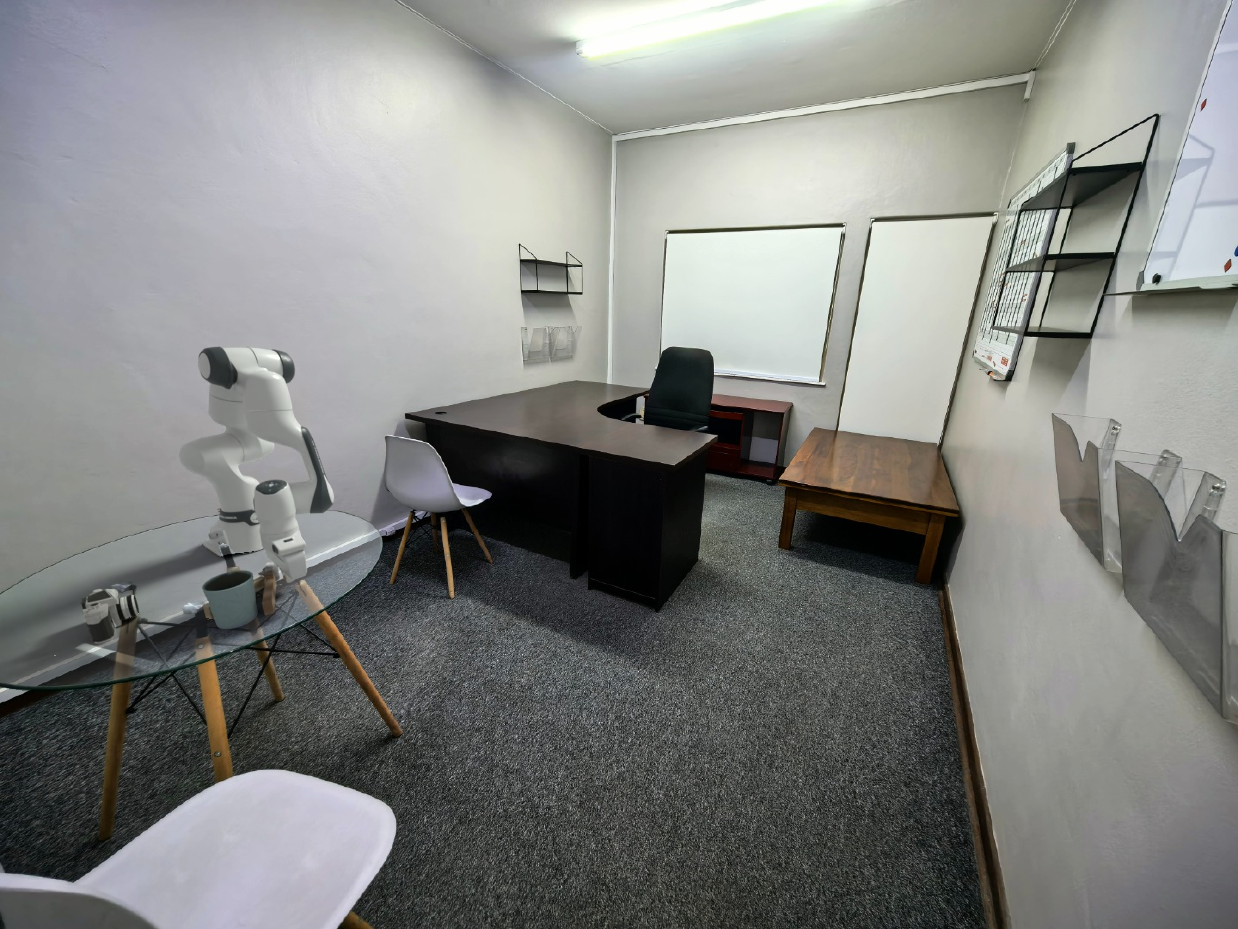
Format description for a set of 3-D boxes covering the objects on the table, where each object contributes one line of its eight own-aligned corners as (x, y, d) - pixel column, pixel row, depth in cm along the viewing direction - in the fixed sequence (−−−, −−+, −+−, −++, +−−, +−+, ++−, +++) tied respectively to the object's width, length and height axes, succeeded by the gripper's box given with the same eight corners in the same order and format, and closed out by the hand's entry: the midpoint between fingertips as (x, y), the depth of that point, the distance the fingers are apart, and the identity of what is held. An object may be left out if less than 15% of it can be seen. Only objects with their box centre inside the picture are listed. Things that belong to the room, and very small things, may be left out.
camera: (140, 632, 115) (129, 598, 112) (89, 648, 109) (75, 612, 106) (140, 605, 125) (129, 573, 123) (93, 618, 120) (81, 585, 117)
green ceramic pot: (256, 604, 128) (247, 566, 124) (266, 619, 121) (257, 580, 118) (209, 620, 120) (198, 580, 117) (216, 637, 114) (205, 595, 110)
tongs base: (274, 580, 139) (271, 564, 138) (283, 582, 138) (280, 565, 137) (203, 618, 121) (199, 600, 119) (214, 620, 120) (209, 602, 118)
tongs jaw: (269, 581, 138) (265, 562, 136) (277, 579, 139) (274, 561, 137) (264, 615, 122) (260, 595, 120) (274, 613, 123) (269, 593, 121)
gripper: (254, 529, 131) (263, 572, 135) (281, 553, 119) (289, 598, 123) (280, 523, 136) (287, 564, 140) (308, 545, 124) (315, 588, 128)
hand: (288, 580), depth 131 cm, fingers closed
